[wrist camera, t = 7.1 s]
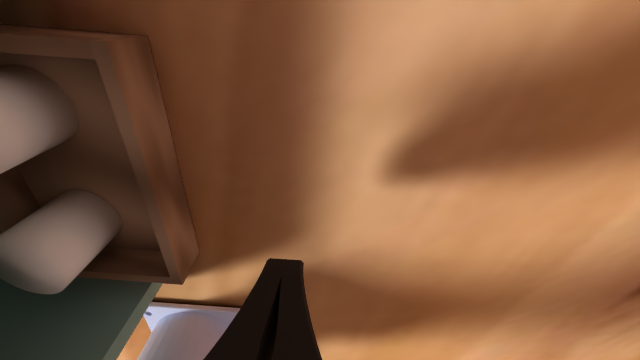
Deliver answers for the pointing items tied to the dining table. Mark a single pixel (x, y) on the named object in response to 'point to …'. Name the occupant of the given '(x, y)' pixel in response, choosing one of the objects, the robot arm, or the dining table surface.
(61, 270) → the cup
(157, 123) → the tray
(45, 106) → the pale pink cylinder
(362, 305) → the dining table surface
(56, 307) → the box
